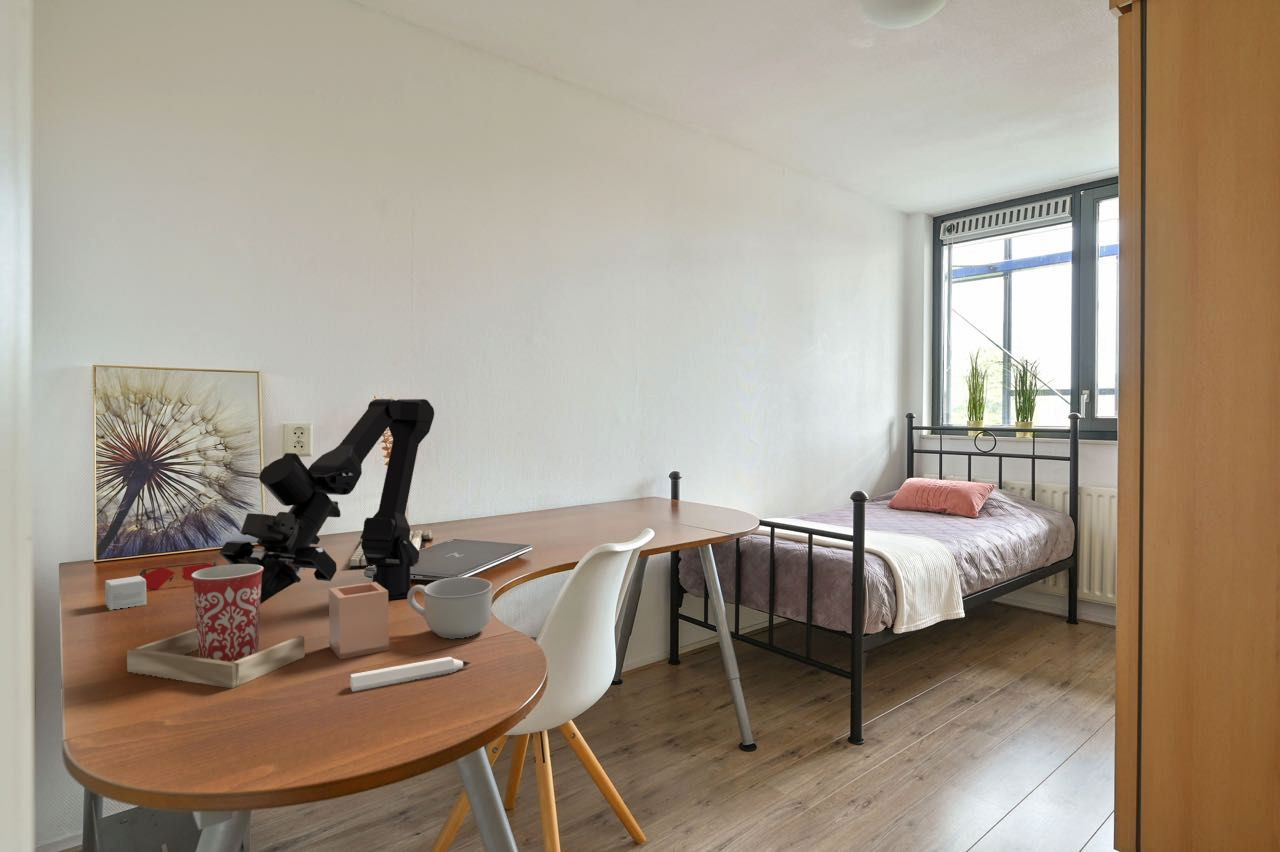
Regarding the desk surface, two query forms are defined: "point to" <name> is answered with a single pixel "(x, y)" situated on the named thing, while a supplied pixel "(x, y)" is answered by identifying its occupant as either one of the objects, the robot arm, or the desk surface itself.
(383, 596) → the terracotta pot
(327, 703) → the desk surface
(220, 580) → the mug
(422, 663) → the marker
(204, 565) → the glasses
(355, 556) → the mechanical keyboard
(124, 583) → the small box
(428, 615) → the teacup
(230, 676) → the bay
